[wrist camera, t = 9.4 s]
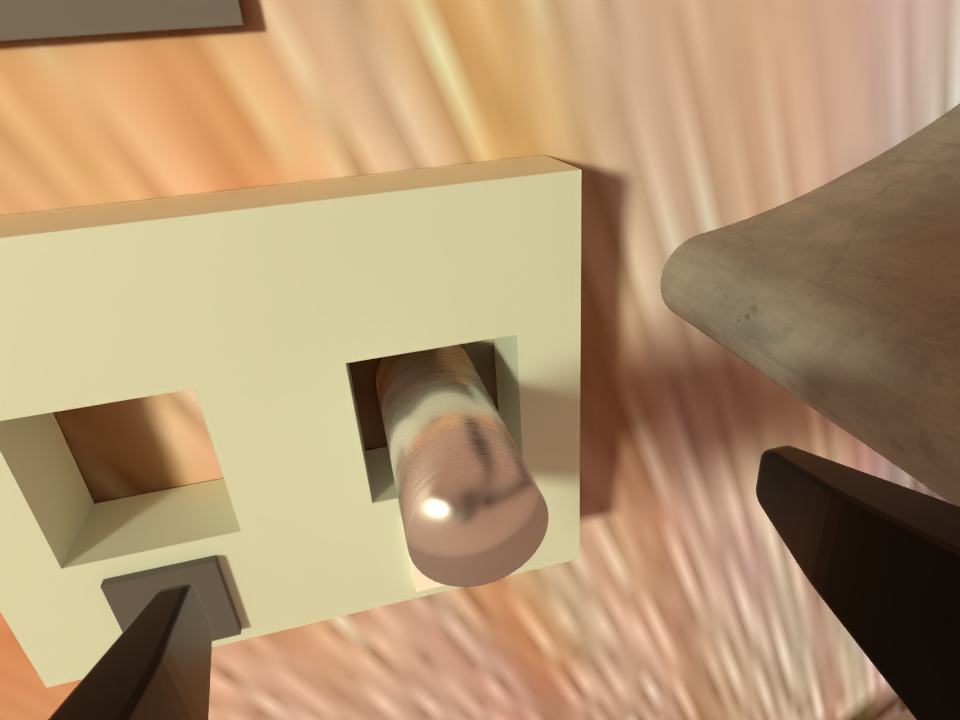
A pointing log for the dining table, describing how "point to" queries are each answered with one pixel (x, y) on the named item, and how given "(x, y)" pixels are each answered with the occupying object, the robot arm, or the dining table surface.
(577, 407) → the socket block
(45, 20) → the mat
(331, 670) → the dining table surface
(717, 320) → the grey upright panel
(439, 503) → the plug
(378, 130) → the dining table surface
